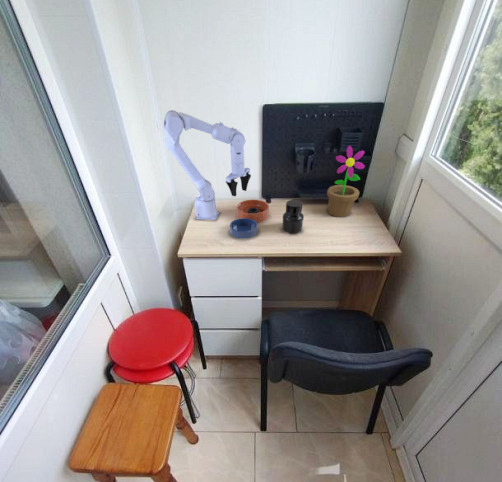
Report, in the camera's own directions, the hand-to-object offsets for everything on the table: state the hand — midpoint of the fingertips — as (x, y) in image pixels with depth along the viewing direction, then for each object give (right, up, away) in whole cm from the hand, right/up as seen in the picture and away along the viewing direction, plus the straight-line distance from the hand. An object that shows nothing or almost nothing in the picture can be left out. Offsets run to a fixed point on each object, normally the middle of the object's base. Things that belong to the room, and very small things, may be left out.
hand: (239, 193), depth 132 cm
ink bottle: (+24, -19, -6) cm, 31 cm away
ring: (+7, -10, +3) cm, 12 cm away
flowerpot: (+48, -8, +5) cm, 49 cm away
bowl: (+7, -10, +3) cm, 12 cm away
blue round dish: (+2, -20, -8) cm, 22 cm away
